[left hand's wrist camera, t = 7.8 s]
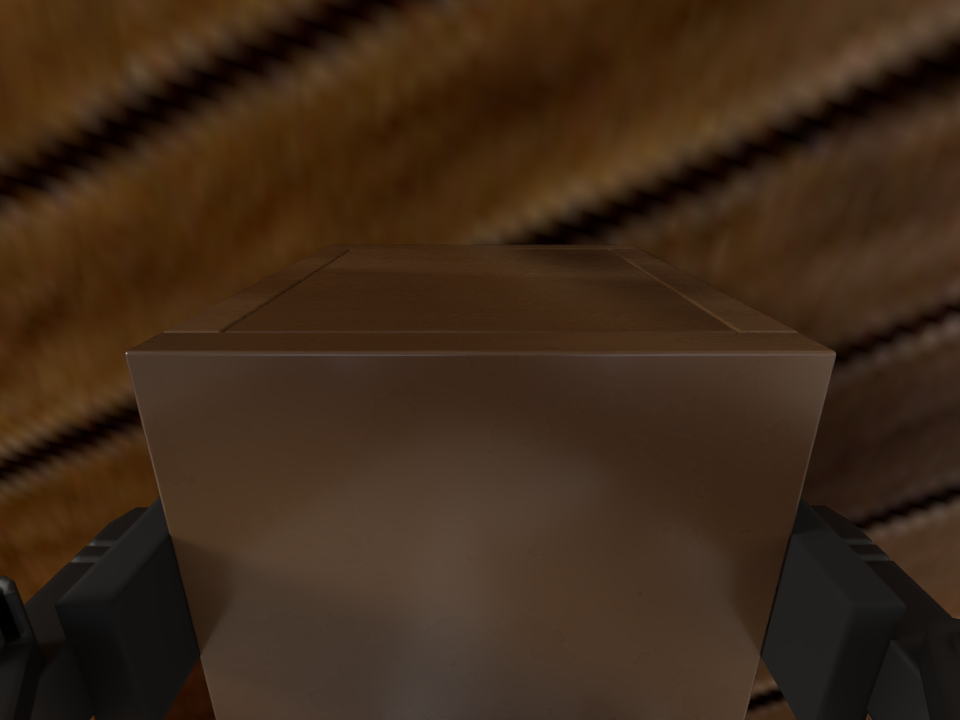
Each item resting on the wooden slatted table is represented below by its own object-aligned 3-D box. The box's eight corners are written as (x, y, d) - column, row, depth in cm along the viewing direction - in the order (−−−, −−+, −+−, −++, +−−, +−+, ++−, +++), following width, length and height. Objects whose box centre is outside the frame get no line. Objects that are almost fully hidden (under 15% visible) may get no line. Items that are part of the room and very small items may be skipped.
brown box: (591, 643, 24) (675, 1000, 14) (368, 643, 24) (285, 1000, 14) (631, 244, 18) (840, 351, 7) (329, 244, 18) (121, 350, 7)
